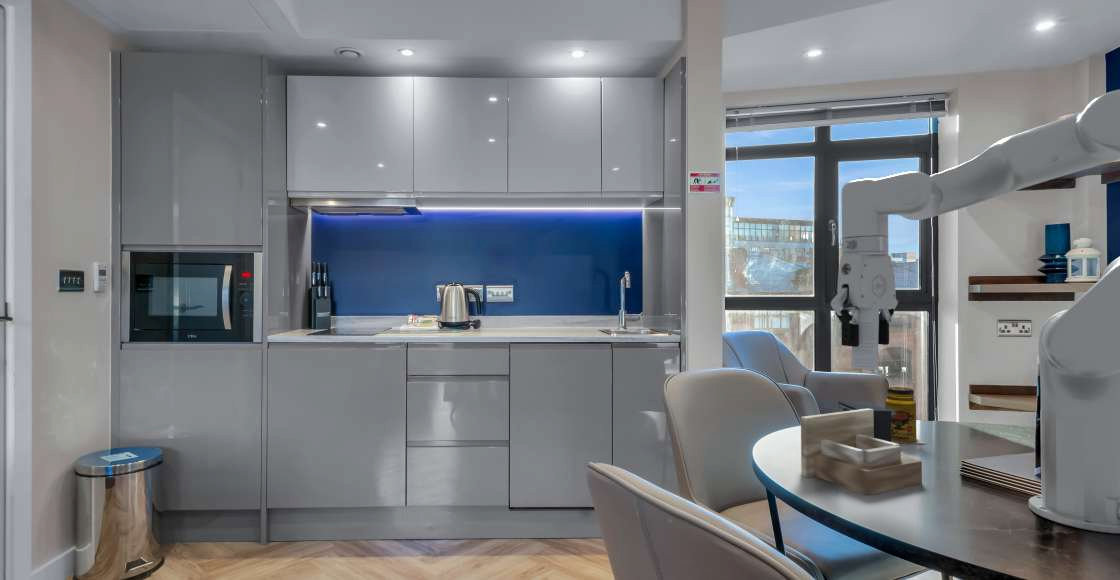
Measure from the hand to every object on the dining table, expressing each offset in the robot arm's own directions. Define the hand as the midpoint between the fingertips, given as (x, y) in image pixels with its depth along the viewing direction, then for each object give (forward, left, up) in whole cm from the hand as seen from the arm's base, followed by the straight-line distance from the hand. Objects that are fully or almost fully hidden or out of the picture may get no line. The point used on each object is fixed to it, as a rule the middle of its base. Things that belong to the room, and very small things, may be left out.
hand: (865, 344), depth 104 cm
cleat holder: (+1, 0, -25) cm, 25 cm away
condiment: (+16, -32, -25) cm, 44 cm away
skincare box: (0, 0, -5) cm, 5 cm away
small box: (+11, -14, -25) cm, 31 cm away
